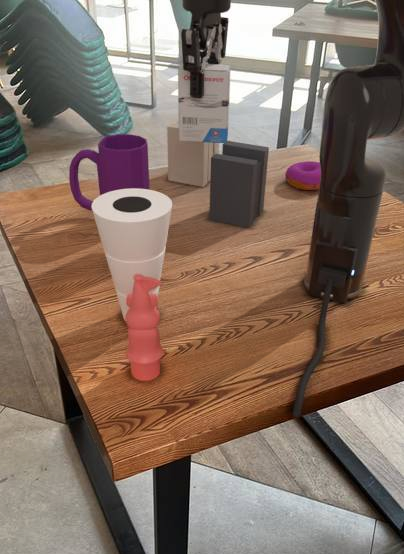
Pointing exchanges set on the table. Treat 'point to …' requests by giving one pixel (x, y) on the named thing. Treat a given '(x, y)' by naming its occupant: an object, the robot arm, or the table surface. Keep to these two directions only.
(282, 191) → the table surface
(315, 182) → the donut
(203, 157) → the cream books
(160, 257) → the cup
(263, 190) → the grey books
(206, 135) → the ink box
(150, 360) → the figurine
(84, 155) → the mug
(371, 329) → the table surface
